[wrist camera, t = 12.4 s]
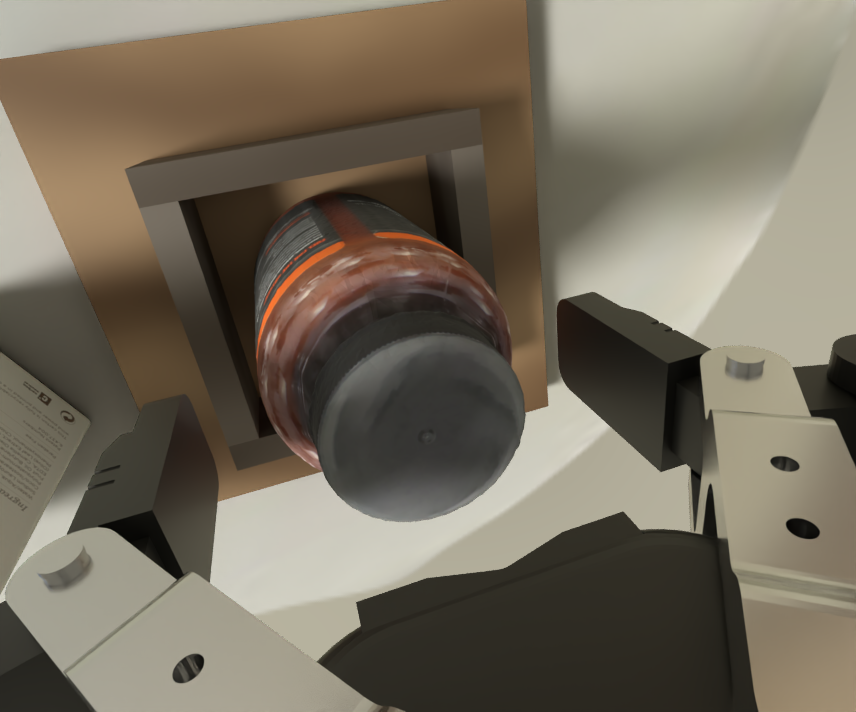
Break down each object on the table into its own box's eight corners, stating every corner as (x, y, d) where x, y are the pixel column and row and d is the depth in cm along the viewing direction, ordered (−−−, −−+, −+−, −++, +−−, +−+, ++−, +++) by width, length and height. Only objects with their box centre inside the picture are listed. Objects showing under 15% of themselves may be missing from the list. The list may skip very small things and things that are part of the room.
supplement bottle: (241, 336, 20) (225, 566, 10) (270, 168, 18) (284, 238, 8) (398, 360, 22) (516, 568, 12) (438, 211, 20) (620, 310, 10)
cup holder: (5, 65, 16) (-78, 49, 12) (507, -2, 19) (571, -32, 15) (188, 488, 23) (173, 566, 19) (533, 391, 26) (582, 440, 22)
